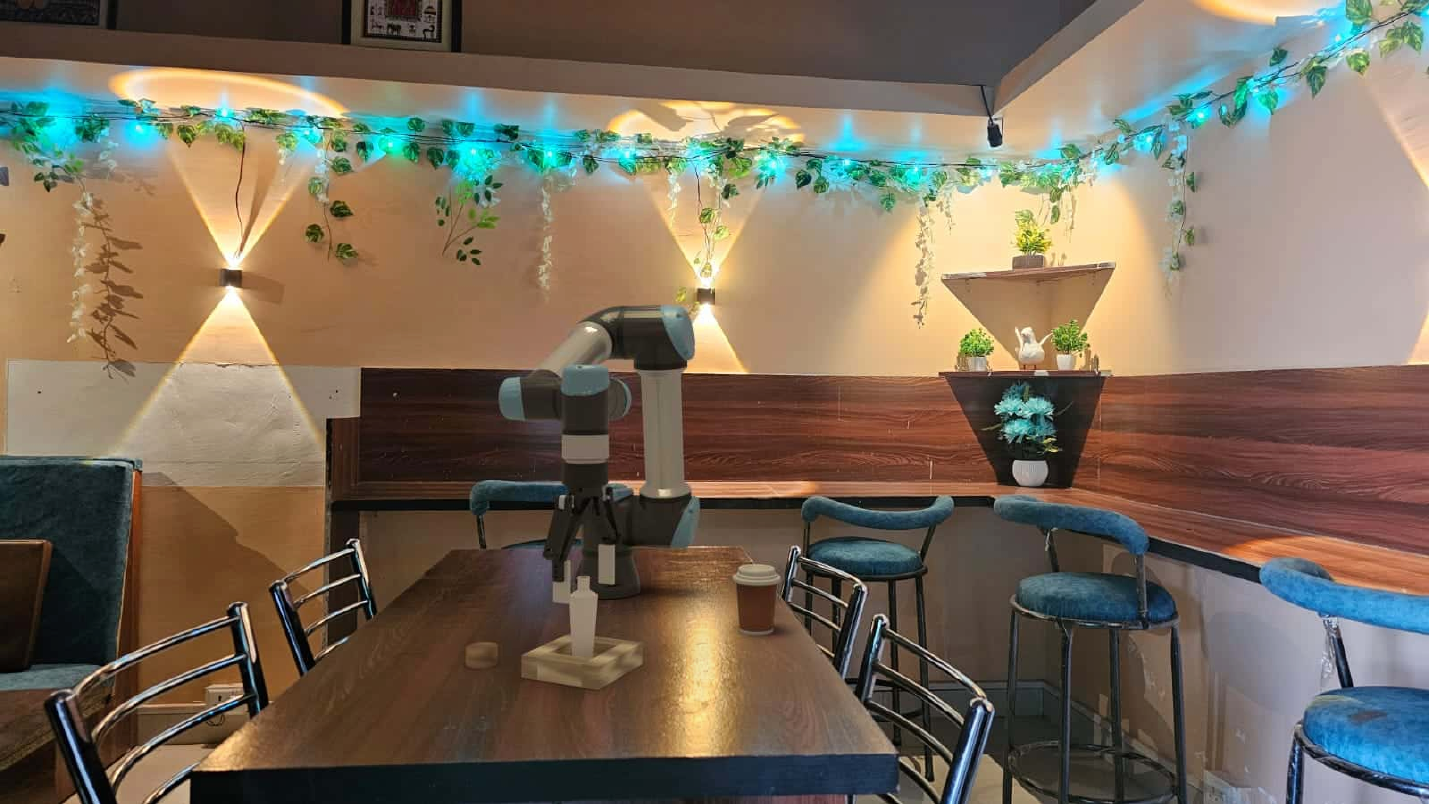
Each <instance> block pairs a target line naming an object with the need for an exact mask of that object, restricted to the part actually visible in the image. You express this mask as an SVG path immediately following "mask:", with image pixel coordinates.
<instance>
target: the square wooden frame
mask: <svg viewBox="0 0 1429 804" xmlns="http://www.w3.org/2000/svg"><path fill="white" fill-rule="evenodd" d="M643 648H644V643H643V642H641V641H633V640H625V639H619V638H618V639H617V638H612V637H604V636H597V635H595V636H594V648H593V659H590V658H583V657H576V656H572V641H571V632H569V633H568V634H565V635H562V636H561V637H559V638H557V639H556V638H555V640H551V641H550V642H547V643H545V644H543V645H541V646H539V647H537V648H534V649H532V650H530V651H527V652H525V653H523V654H521V656H520V657H521V662H520V663H521V665H520V667H521V668H520V669H521V670H520V674H521V675H520V677H521V679H528V680H533V681H540V682H547V683H552V684H557V685H558V684H559V685H564V686H565V685H566V686H571V687H575V688H577V687H578V688H583V689H590V690H596V691H599V690H601V689H603V688H605V687H606V686H608V685H610V684H612V683H613V682H615V681H617V680H619V678H622V677H623V676H625V675H626V674H628V673H630V672H632V671H633V670H635V669H637V668H638V667H640V666H642V665H643V662H644V657H643V656H644V651H643V650H644V649H643Z"/></svg>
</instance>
